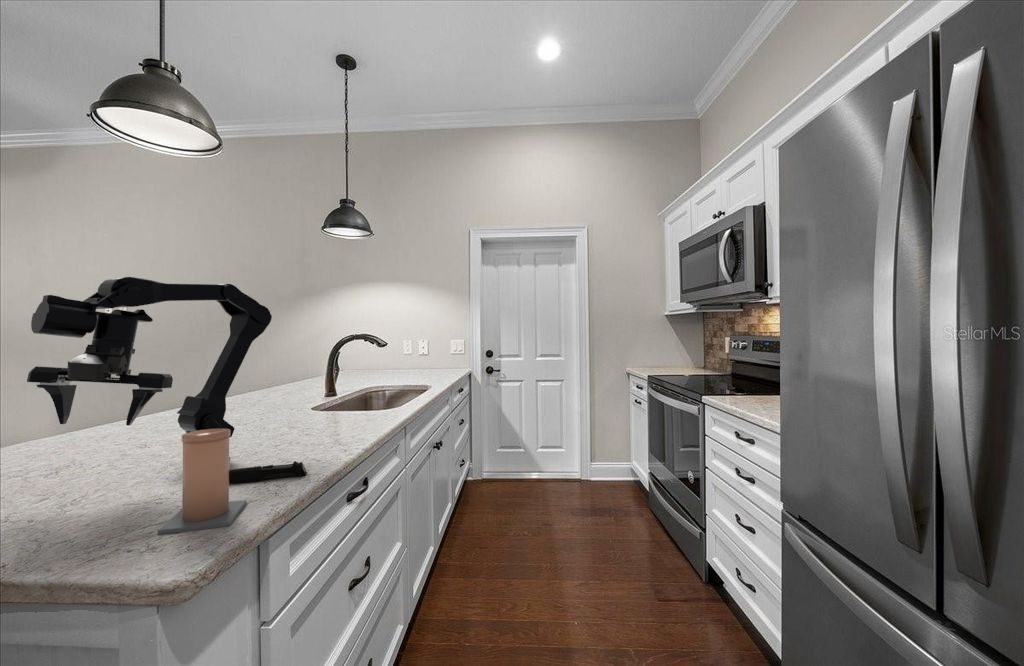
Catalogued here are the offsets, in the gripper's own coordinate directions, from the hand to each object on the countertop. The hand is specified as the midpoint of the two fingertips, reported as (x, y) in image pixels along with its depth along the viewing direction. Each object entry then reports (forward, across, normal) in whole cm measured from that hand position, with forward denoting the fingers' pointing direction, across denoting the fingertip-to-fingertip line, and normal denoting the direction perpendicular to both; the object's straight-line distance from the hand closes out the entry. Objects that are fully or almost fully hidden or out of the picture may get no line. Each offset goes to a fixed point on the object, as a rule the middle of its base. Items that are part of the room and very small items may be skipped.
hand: (96, 424), depth 74 cm
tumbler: (+12, +23, -19) cm, 32 cm away
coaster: (+12, +23, -19) cm, 32 cm away
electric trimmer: (+10, +29, -2) cm, 31 cm away
